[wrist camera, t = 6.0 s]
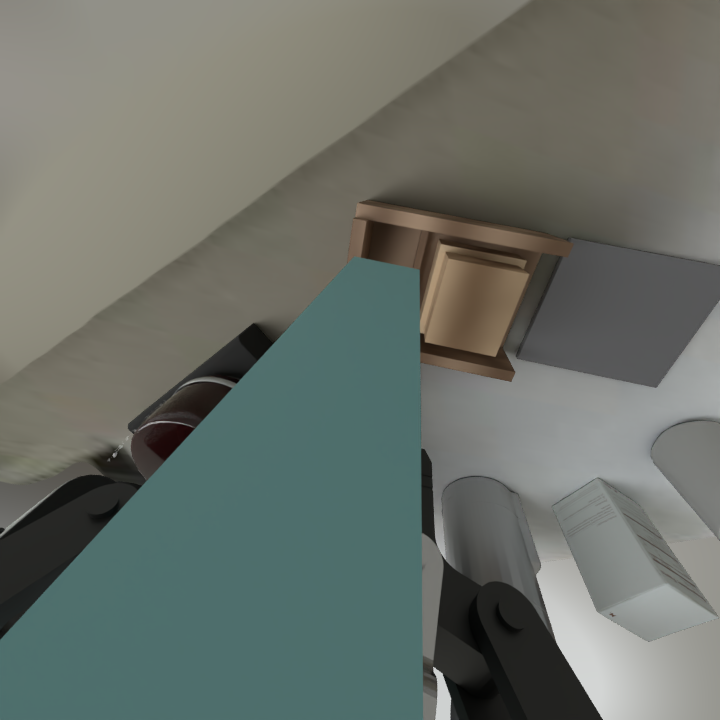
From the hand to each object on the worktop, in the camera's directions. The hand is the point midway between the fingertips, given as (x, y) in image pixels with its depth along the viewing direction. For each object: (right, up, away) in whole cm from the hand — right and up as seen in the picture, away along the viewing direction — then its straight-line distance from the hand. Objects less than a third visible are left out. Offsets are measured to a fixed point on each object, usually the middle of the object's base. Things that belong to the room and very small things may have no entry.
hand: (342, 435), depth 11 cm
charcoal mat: (+25, +7, +20) cm, 33 cm away
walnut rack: (+8, +10, +21) cm, 25 cm away
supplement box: (+31, -16, +31) cm, 47 cm away
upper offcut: (+10, +8, +17) cm, 22 cm away
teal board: (+1, +3, +6) cm, 7 cm away
